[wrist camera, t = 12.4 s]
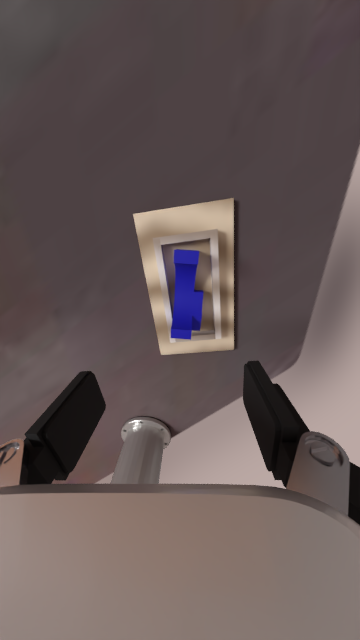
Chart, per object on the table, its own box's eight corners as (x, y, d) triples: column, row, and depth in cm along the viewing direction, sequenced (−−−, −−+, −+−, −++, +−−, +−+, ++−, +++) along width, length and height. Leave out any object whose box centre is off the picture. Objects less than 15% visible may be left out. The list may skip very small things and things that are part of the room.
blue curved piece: (199, 323, 30) (201, 340, 25) (174, 321, 31) (170, 337, 25) (207, 250, 26) (212, 252, 20) (177, 249, 26) (174, 249, 20)
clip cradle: (233, 347, 33) (236, 354, 31) (161, 352, 34) (159, 359, 32) (232, 199, 24) (236, 194, 21) (134, 215, 25) (129, 211, 23)
